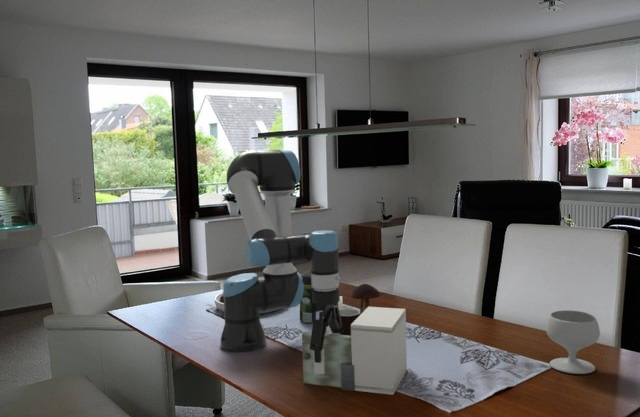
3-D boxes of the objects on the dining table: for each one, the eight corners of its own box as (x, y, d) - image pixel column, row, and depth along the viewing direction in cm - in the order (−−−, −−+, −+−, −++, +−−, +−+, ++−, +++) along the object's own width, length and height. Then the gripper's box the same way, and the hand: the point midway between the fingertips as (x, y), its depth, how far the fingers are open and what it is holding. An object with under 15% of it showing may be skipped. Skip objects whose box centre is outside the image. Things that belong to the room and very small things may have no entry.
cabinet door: (302, 384, 159) (300, 334, 158) (306, 380, 162) (304, 331, 160) (351, 389, 154) (349, 339, 153) (354, 385, 157) (352, 335, 156)
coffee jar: (310, 316, 225) (308, 269, 223) (327, 318, 220) (325, 271, 218) (296, 322, 216) (294, 274, 215) (313, 325, 212) (312, 276, 210)
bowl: (249, 295, 262) (248, 278, 262) (301, 303, 245) (300, 285, 244) (199, 311, 238) (198, 292, 237) (253, 321, 221) (252, 301, 220)
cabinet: (352, 390, 154) (350, 324, 152) (369, 365, 171) (368, 306, 169) (393, 394, 150) (391, 327, 148) (406, 369, 167) (405, 308, 165)
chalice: (539, 358, 172) (539, 309, 171) (586, 357, 172) (587, 308, 170) (556, 377, 158) (557, 323, 157) (608, 376, 158) (609, 322, 156)
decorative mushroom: (347, 326, 209) (346, 286, 208) (356, 318, 219) (355, 279, 218) (376, 329, 205) (375, 288, 204) (384, 320, 215) (383, 281, 214)
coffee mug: (358, 346, 188) (358, 316, 187) (332, 345, 190) (332, 315, 189) (363, 334, 200) (362, 306, 199) (338, 334, 201) (338, 306, 200)
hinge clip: (341, 389, 155) (340, 356, 154) (347, 381, 160) (347, 349, 159) (355, 391, 153) (354, 358, 152) (361, 382, 159) (360, 350, 158)
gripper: (323, 300, 143) (325, 383, 145) (351, 278, 166) (353, 350, 168) (295, 298, 145) (298, 380, 147) (327, 277, 169) (329, 347, 171)
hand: (327, 364), depth 158 cm, fingers open, 13 cm apart
